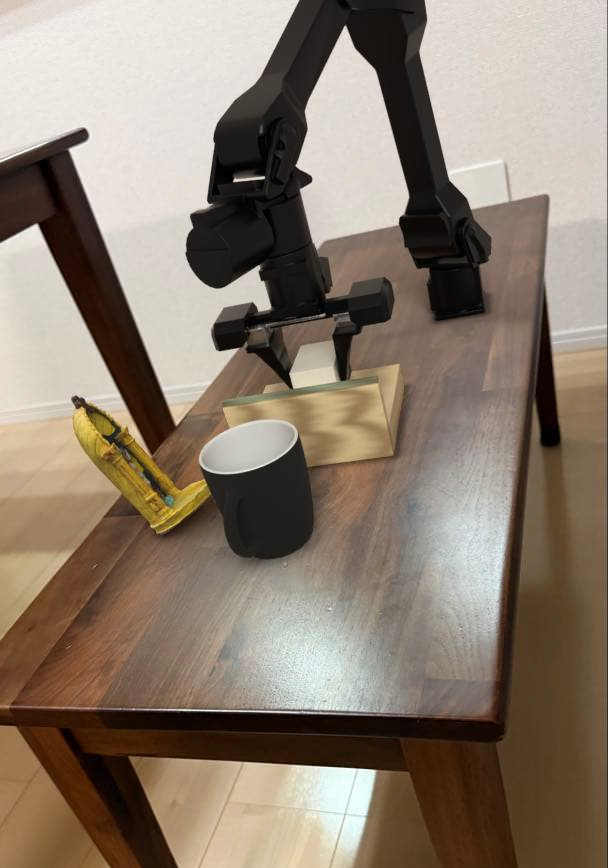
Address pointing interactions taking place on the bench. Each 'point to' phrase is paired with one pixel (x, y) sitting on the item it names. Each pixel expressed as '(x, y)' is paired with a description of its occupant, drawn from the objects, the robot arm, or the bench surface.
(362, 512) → the bench surface
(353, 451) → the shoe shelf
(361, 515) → the bench surface
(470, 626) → the bench surface
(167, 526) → the shrine
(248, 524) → the mug
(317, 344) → the cream stepped block
